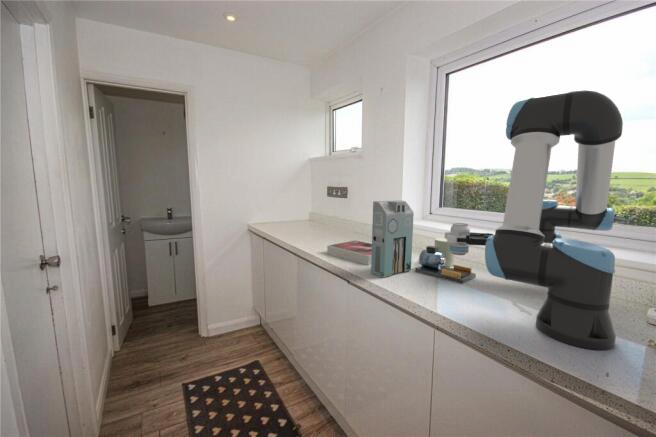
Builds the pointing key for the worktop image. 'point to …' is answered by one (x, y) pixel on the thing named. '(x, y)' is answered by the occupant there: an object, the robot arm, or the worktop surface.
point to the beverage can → (459, 230)
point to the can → (445, 250)
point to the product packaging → (352, 251)
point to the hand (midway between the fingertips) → (446, 237)
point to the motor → (442, 266)
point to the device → (391, 238)
